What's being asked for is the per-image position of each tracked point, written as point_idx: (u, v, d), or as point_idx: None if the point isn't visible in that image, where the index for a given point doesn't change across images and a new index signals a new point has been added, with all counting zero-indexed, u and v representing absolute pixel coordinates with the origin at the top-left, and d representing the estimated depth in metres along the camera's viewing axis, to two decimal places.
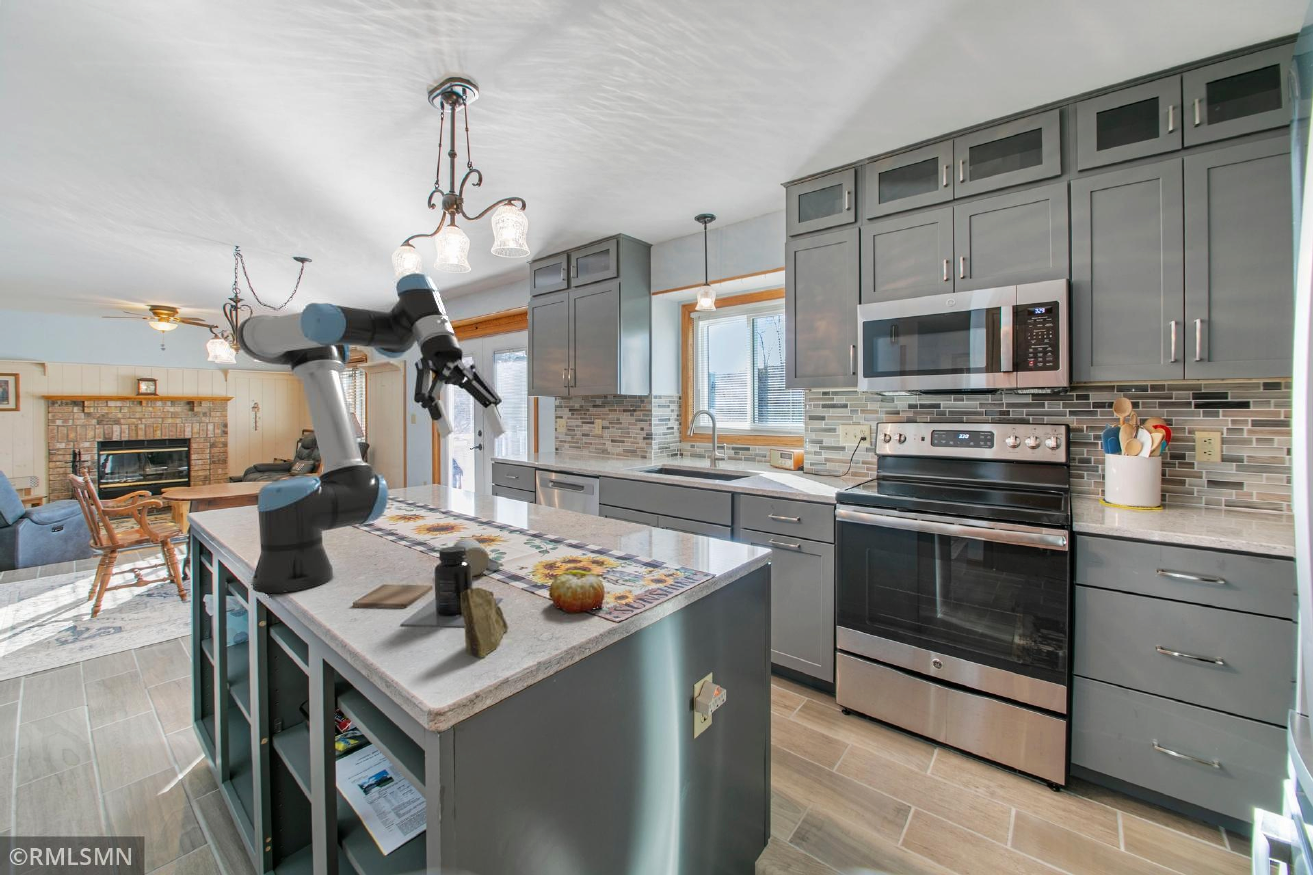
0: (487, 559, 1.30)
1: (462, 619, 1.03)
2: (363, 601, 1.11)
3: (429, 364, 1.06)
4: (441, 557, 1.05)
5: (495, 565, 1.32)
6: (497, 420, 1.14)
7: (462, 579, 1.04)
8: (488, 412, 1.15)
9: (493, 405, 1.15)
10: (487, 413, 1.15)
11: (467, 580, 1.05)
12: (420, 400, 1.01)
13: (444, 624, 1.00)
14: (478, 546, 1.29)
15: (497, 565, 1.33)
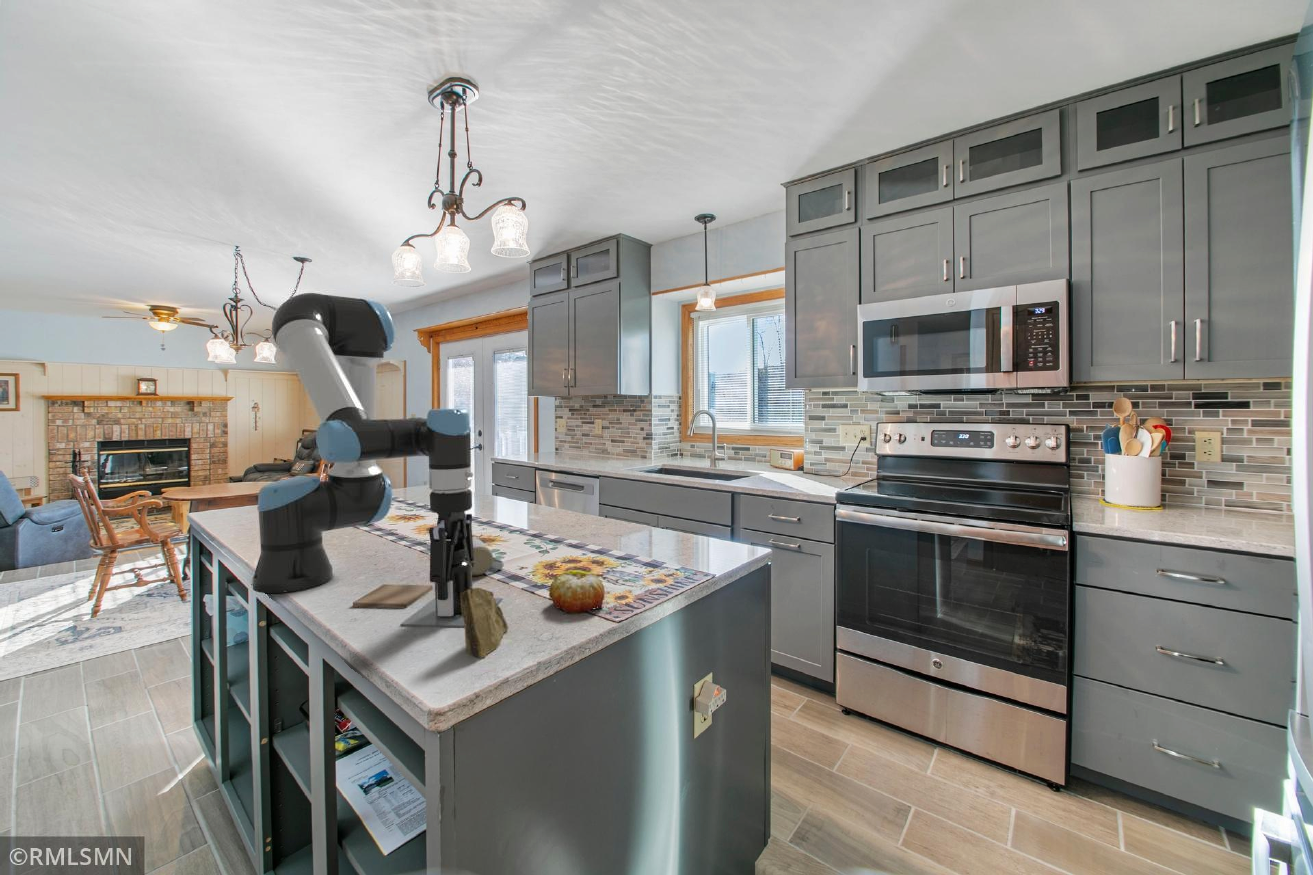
0: (491, 558, 1.30)
1: (462, 619, 1.03)
2: (363, 601, 1.11)
3: (445, 535, 1.01)
4: None
5: (499, 564, 1.33)
6: None
7: (462, 579, 1.04)
8: None
9: None
10: None
11: (467, 580, 1.05)
12: None
13: (444, 624, 1.00)
14: (482, 545, 1.30)
15: (501, 564, 1.33)
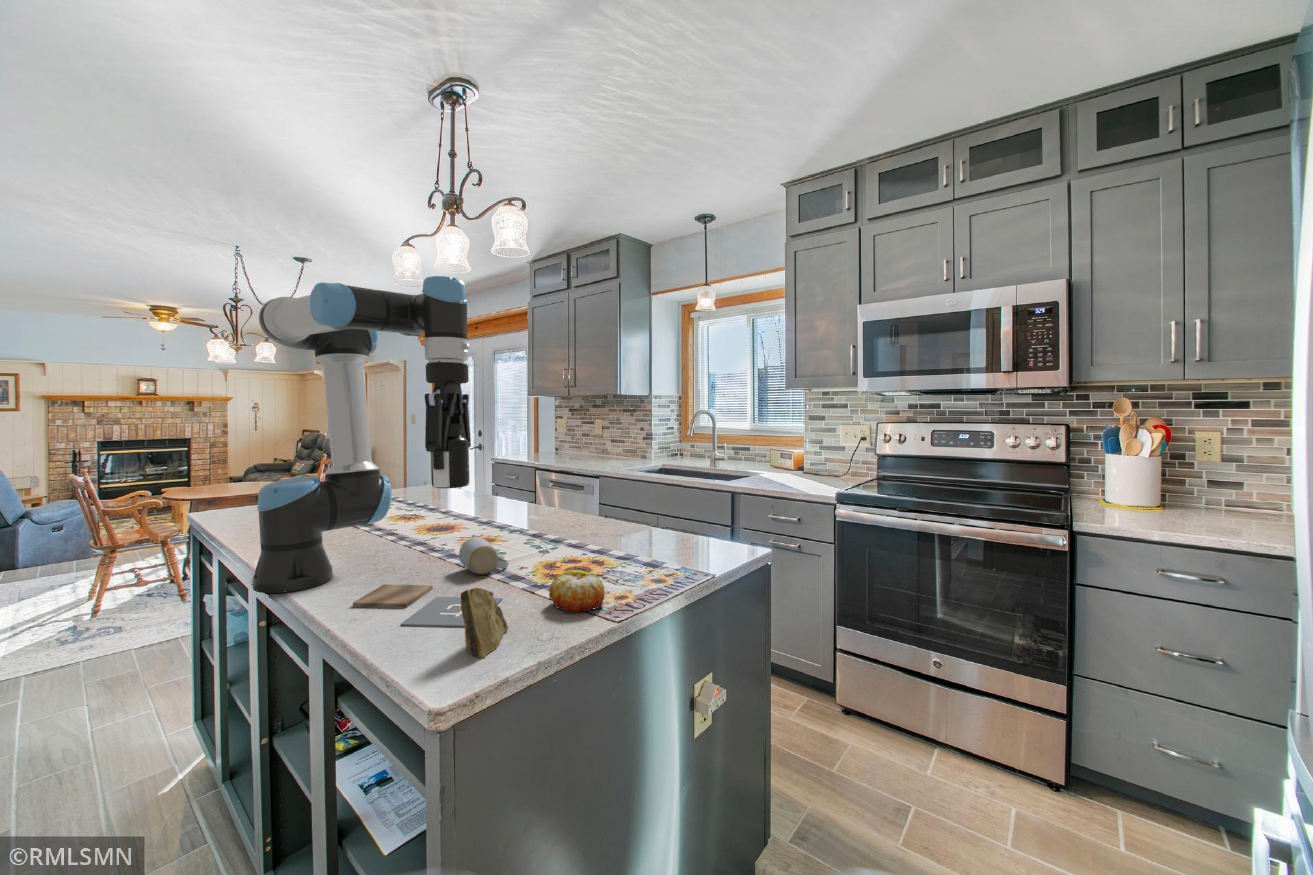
0: (496, 558, 1.31)
1: (462, 619, 1.03)
2: (363, 601, 1.11)
3: (441, 402, 0.99)
4: None
5: (504, 564, 1.33)
6: None
7: (458, 451, 1.03)
8: None
9: None
10: None
11: (463, 454, 1.04)
12: (431, 449, 0.99)
13: (444, 624, 1.00)
14: (487, 545, 1.31)
15: (506, 564, 1.34)
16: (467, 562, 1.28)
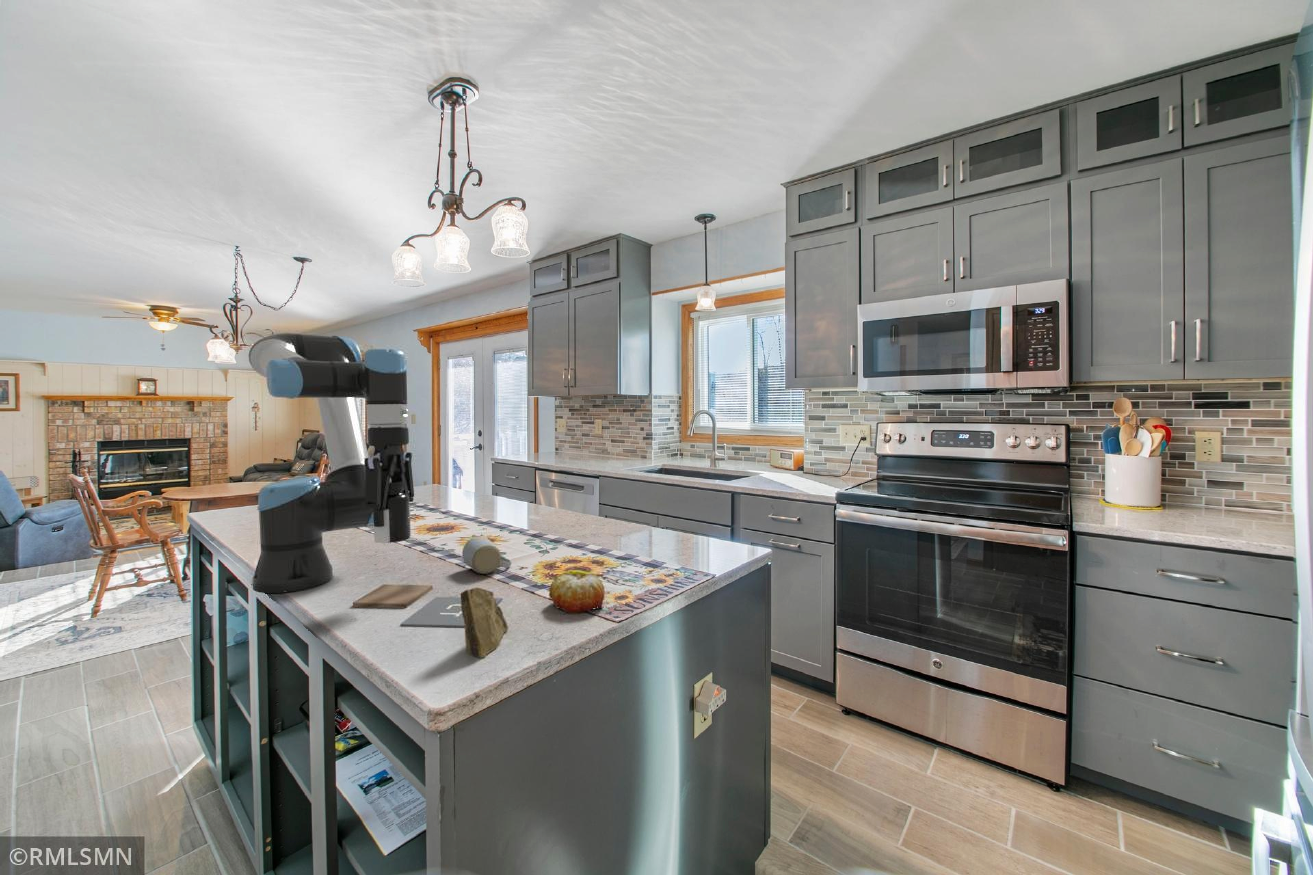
0: (499, 557, 1.31)
1: (462, 619, 1.03)
2: (363, 601, 1.11)
3: (380, 465, 1.08)
4: None
5: (507, 563, 1.34)
6: None
7: (398, 508, 1.12)
8: None
9: None
10: None
11: (403, 510, 1.13)
12: (371, 508, 1.07)
13: (444, 624, 1.00)
14: (490, 544, 1.31)
15: (509, 563, 1.34)
16: (470, 561, 1.29)
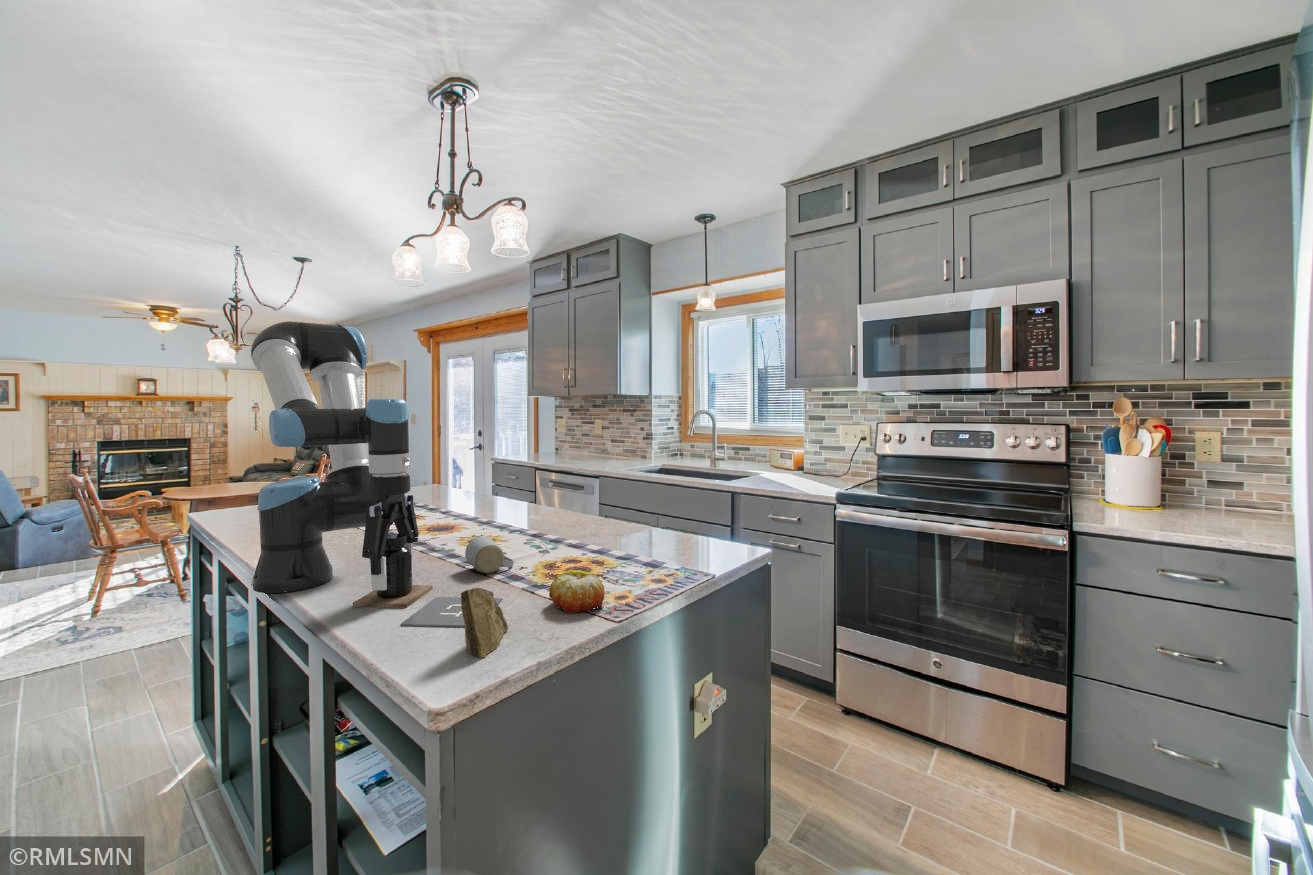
0: (502, 557, 1.32)
1: (462, 619, 1.03)
2: (363, 601, 1.11)
3: (381, 514, 1.08)
4: None
5: (509, 563, 1.34)
6: None
7: (400, 563, 1.13)
8: None
9: (411, 545, 1.20)
10: None
11: (406, 565, 1.14)
12: (368, 557, 1.07)
13: (444, 624, 1.00)
14: (493, 544, 1.31)
15: (511, 563, 1.35)
16: (473, 561, 1.29)
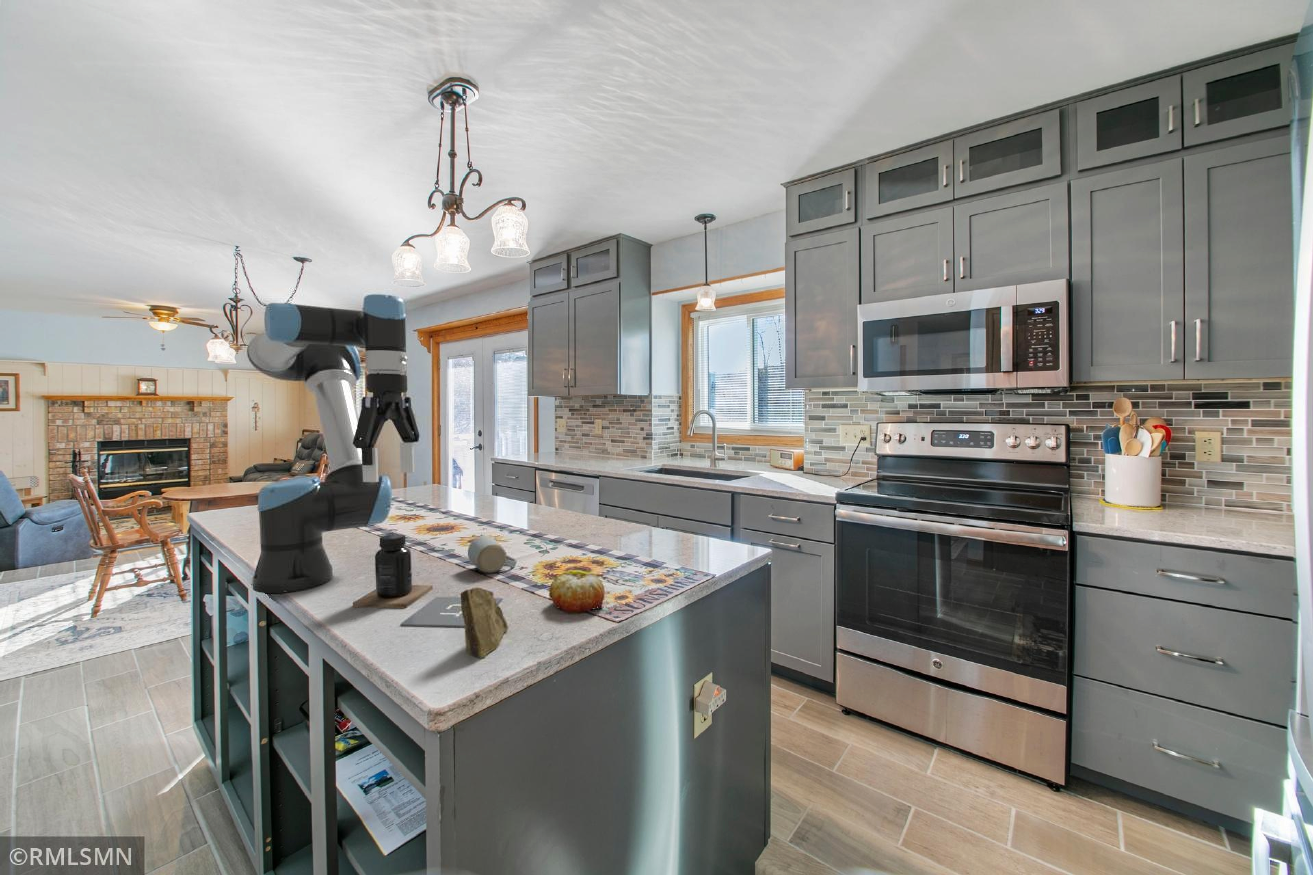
0: (504, 556, 1.32)
1: (462, 619, 1.03)
2: (363, 601, 1.11)
3: (377, 406, 1.07)
4: (381, 544, 1.13)
5: (512, 562, 1.34)
6: (411, 460, 1.20)
7: (400, 564, 1.13)
8: (404, 447, 1.20)
9: (412, 444, 1.21)
10: (403, 447, 1.20)
11: (405, 565, 1.14)
12: (359, 445, 1.04)
13: (444, 624, 1.00)
14: (495, 543, 1.32)
15: (514, 562, 1.35)
16: (476, 561, 1.29)
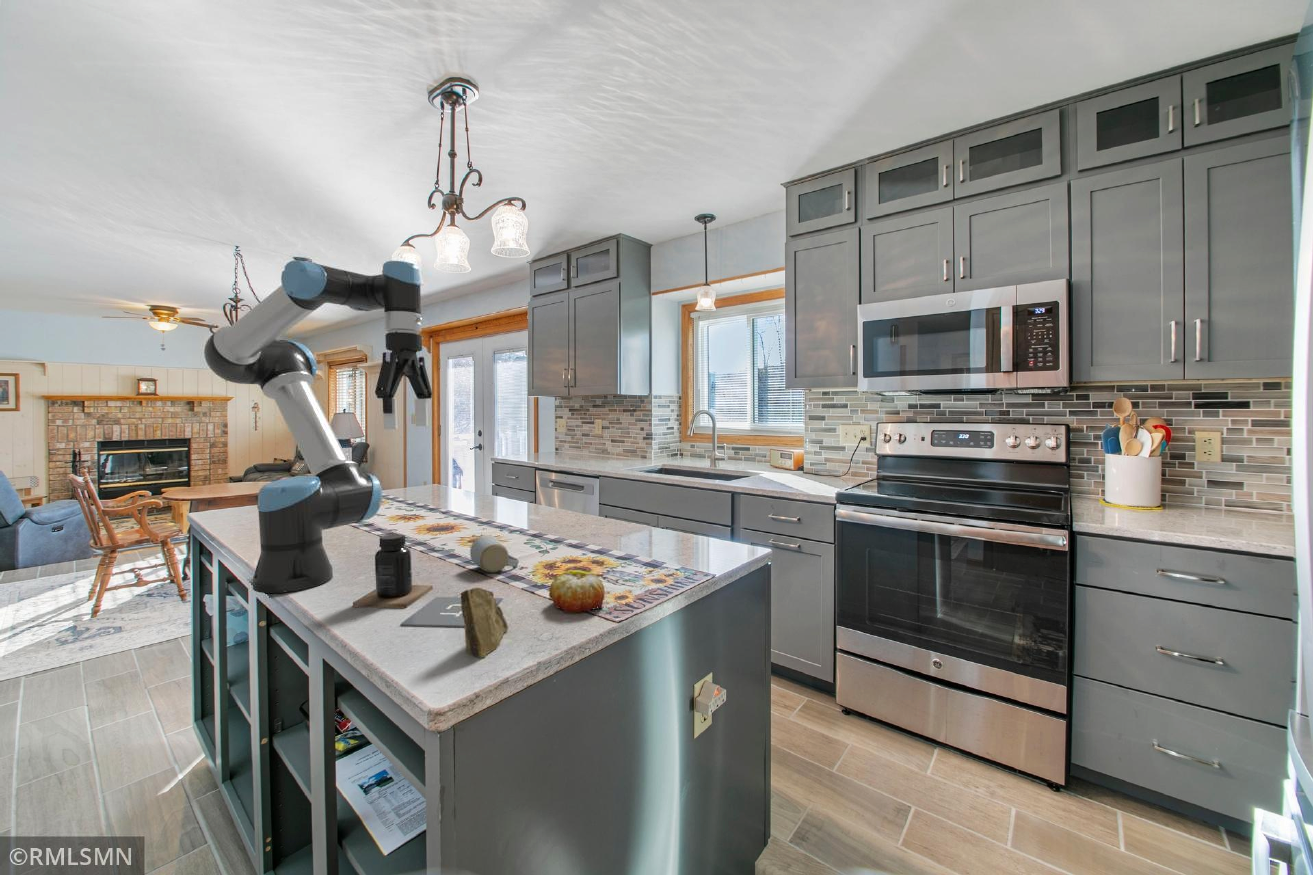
0: (506, 556, 1.32)
1: (462, 619, 1.03)
2: (363, 601, 1.11)
3: (396, 360, 1.19)
4: (381, 544, 1.13)
5: (514, 562, 1.35)
6: (424, 414, 1.32)
7: (400, 564, 1.13)
8: (419, 403, 1.32)
9: (426, 400, 1.32)
10: (417, 403, 1.32)
11: (405, 565, 1.14)
12: (380, 395, 1.16)
13: (444, 624, 1.00)
14: (498, 543, 1.32)
15: (516, 562, 1.35)
16: (478, 560, 1.30)
